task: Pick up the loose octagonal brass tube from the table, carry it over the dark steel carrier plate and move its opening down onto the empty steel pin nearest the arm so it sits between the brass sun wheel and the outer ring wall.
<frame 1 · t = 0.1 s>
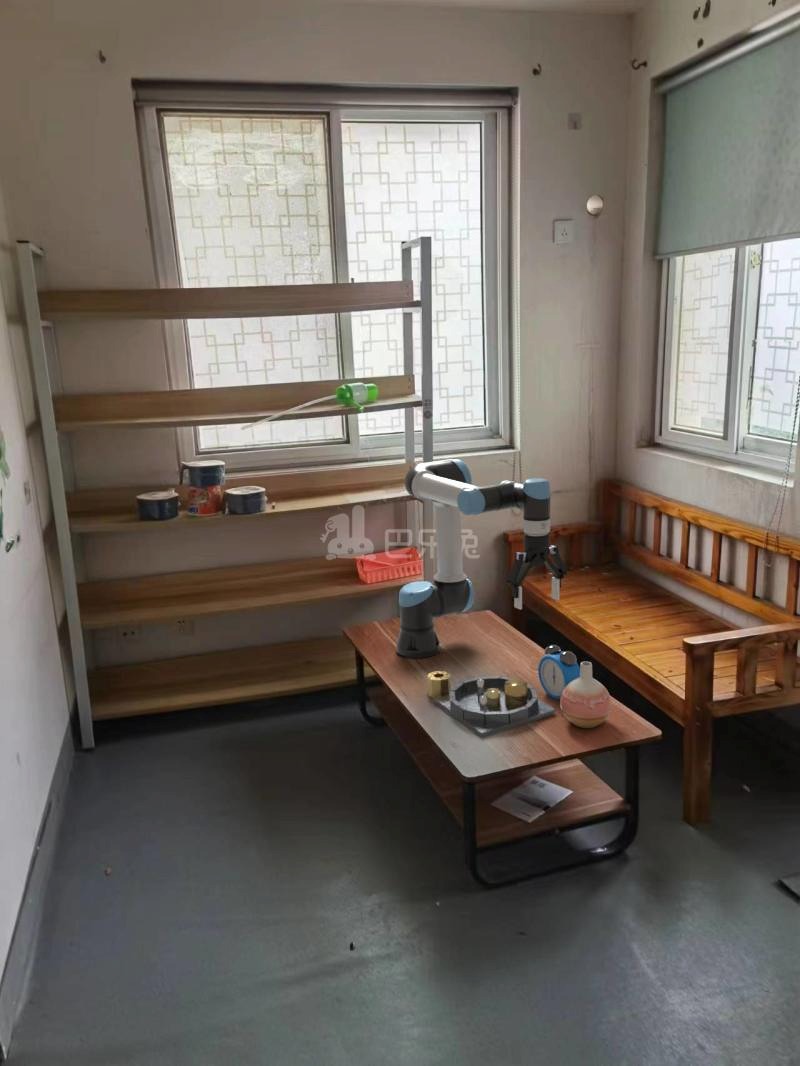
hand: (537, 603, 233), 28 cm above the table, fingers open, 13 cm apart
vase: (585, 723, 220), on the table
octagonal brass tube: (439, 694, 241), on the table
carrier: (493, 708, 230), on the table
alarm clock: (559, 696, 237), on the table
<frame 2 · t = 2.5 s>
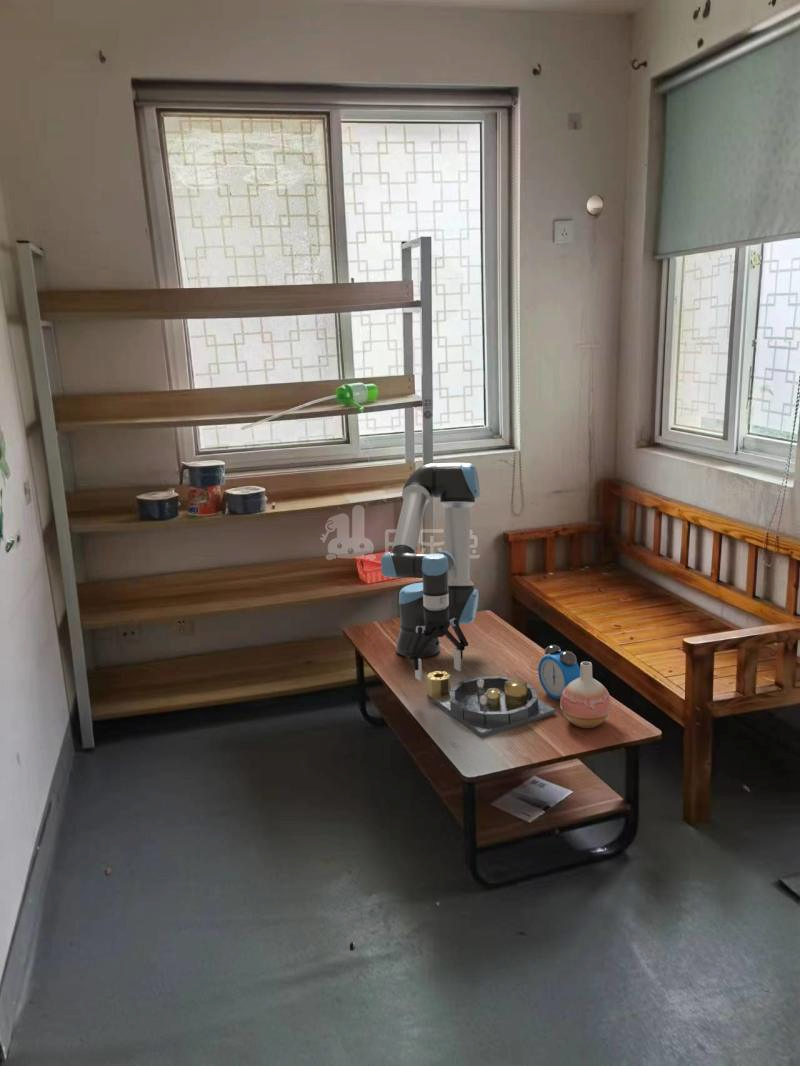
hand: (438, 674, 239), 7 cm above the table, fingers open, 13 cm apart
nothing on the table moved.
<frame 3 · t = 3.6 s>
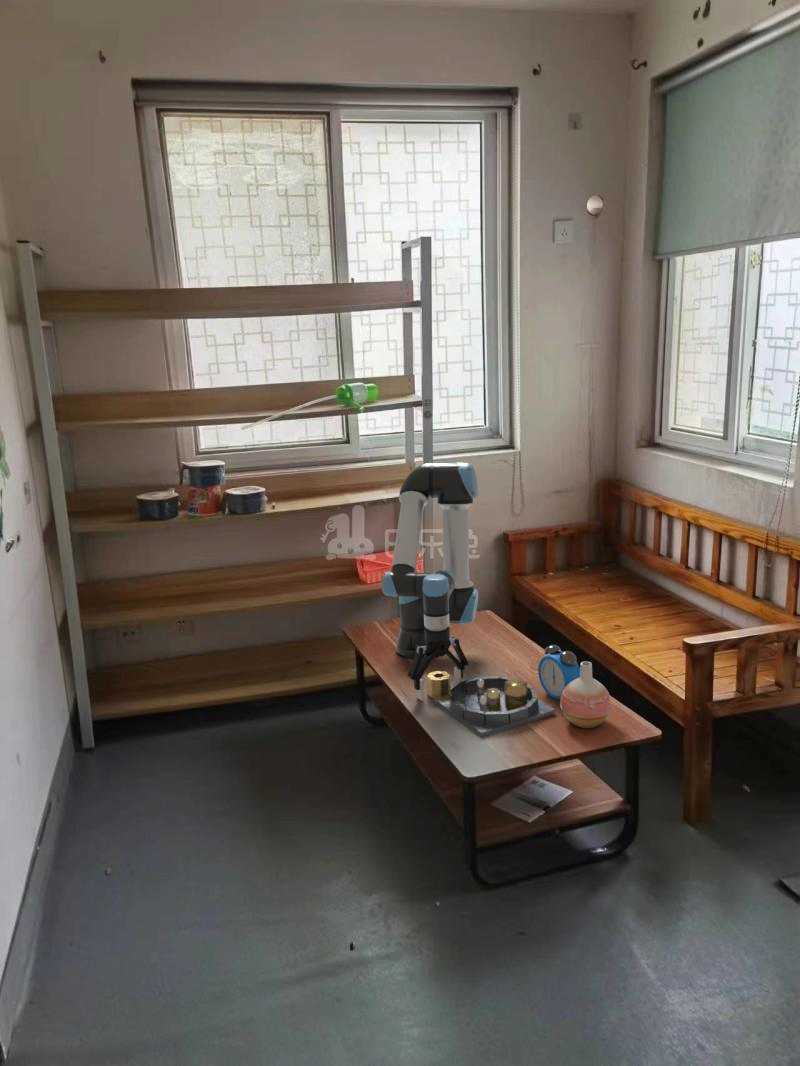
hand: (439, 693, 241), 0 cm above the table, fingers open, 12 cm apart
nothing on the table moved.
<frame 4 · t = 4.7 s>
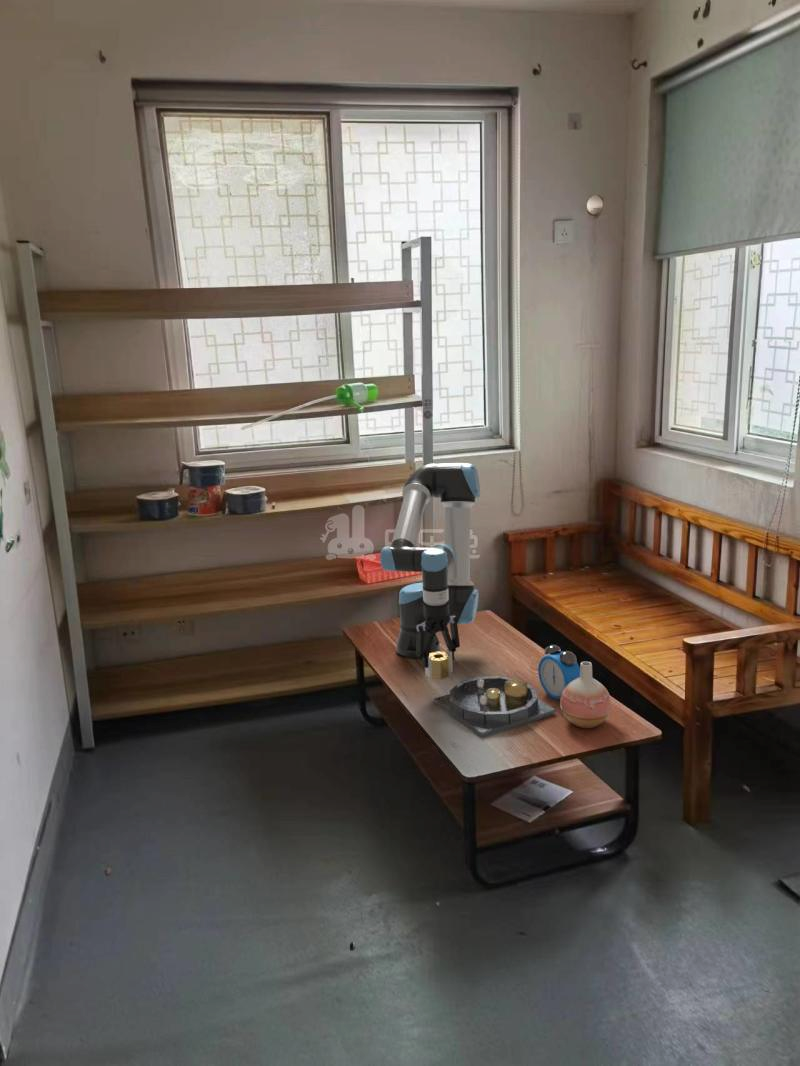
hand: (439, 673, 241), 6 cm above the table, fingers closed on octagonal brass tube, 6 cm apart
octagonal brass tube: (439, 674, 241), point 6 cm above the table, touching gripper
everything else where it was.
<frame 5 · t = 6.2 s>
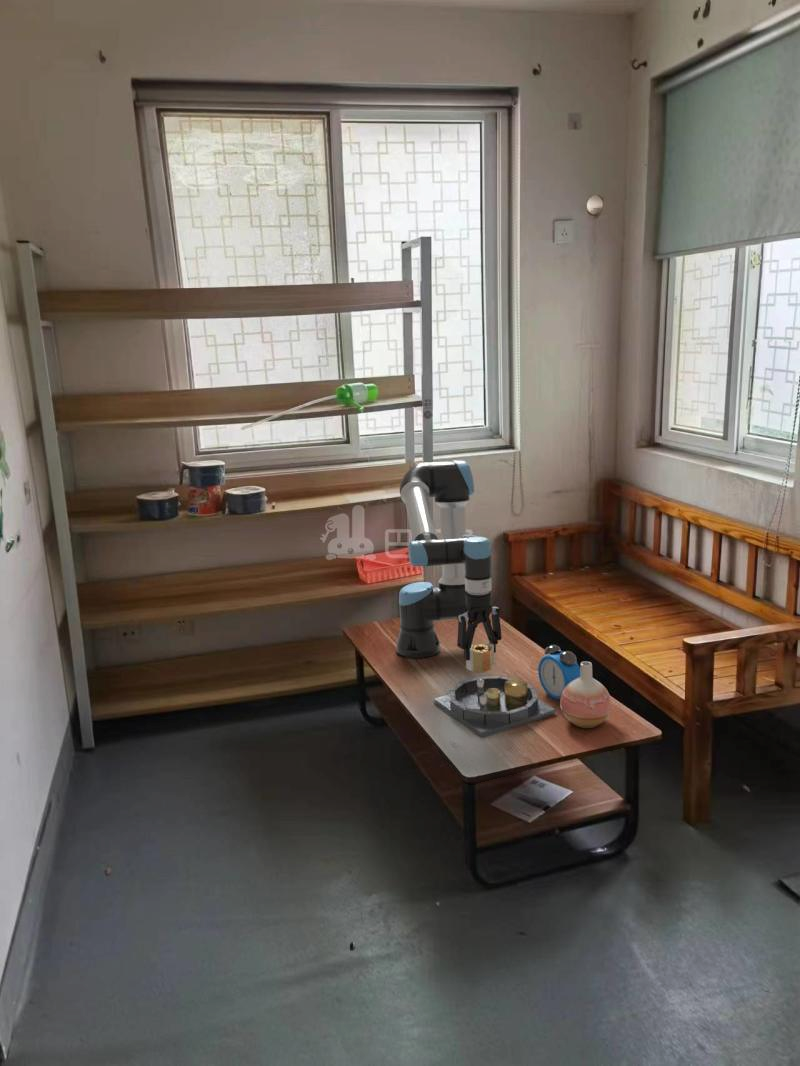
hand: (480, 666, 233), 11 cm above the table, fingers closed on octagonal brass tube, 6 cm apart
octagonal brass tube: (480, 667, 233), point 11 cm above the table, touching gripper
everything else where it was.
when the fingers open (2 cm above the table, at t = 8.0 s): octagonal brass tube stays where it is, resting on carrier.
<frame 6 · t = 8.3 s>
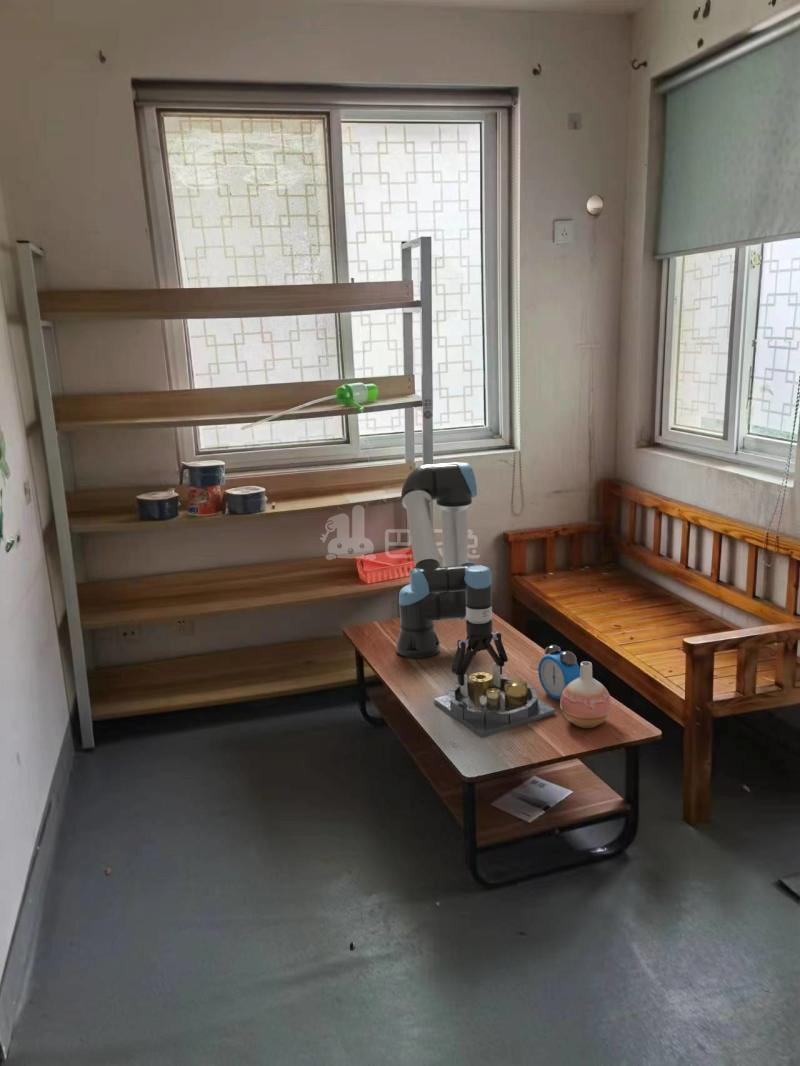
hand: (480, 690, 235), 3 cm above the table, fingers open, 11 cm apart
octagonal brass tube: (481, 695, 236), point 1 cm above the table, touching carrier
everything else where it was.
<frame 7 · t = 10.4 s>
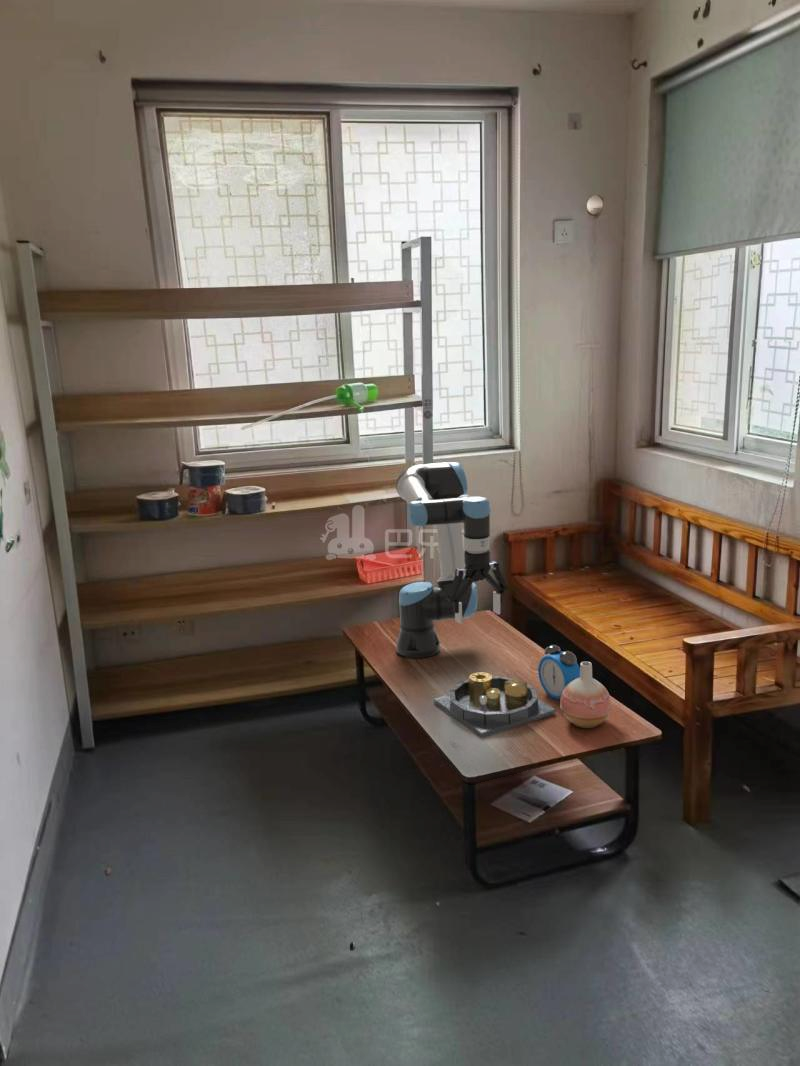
hand: (477, 617, 239), 23 cm above the table, fingers open, 13 cm apart
nothing on the table moved.
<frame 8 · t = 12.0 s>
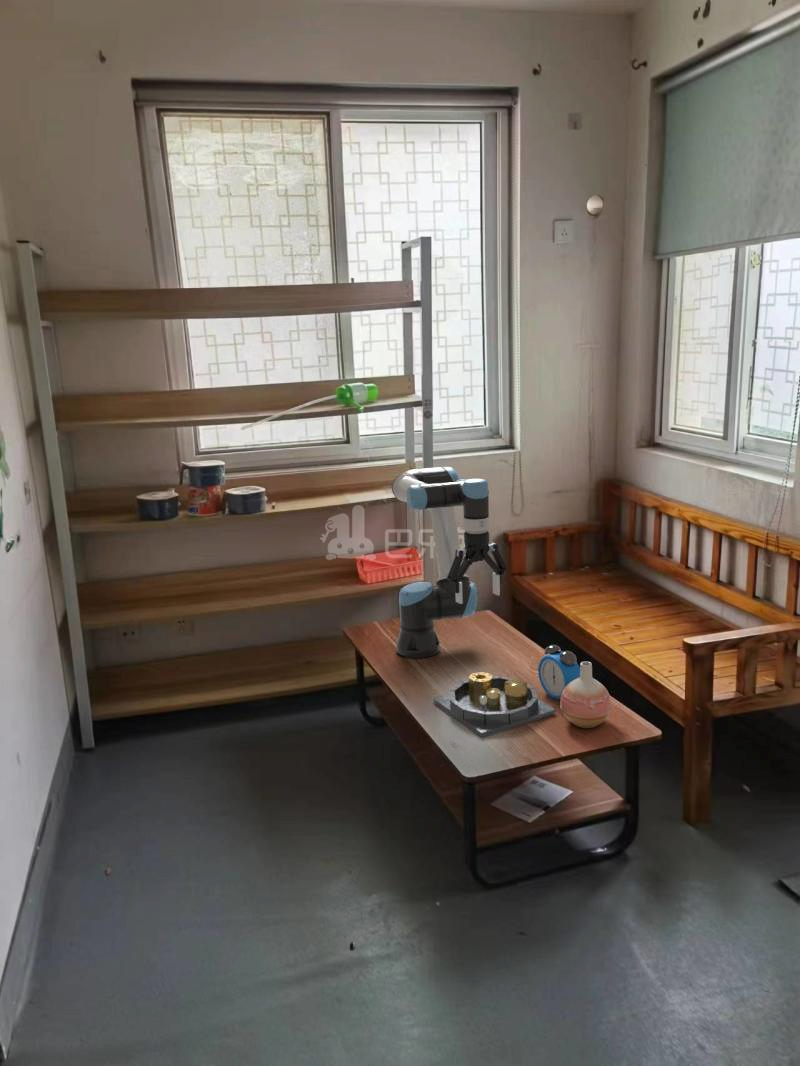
hand: (477, 598, 244), 27 cm above the table, fingers open, 13 cm apart
nothing on the table moved.
at the end: octagonal brass tube 0.1 cm from the target spot on the carrier, point 1.5 cm above the carrier's base; octagonal brass tube tilted 0°; the gripper is holding nothing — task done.
